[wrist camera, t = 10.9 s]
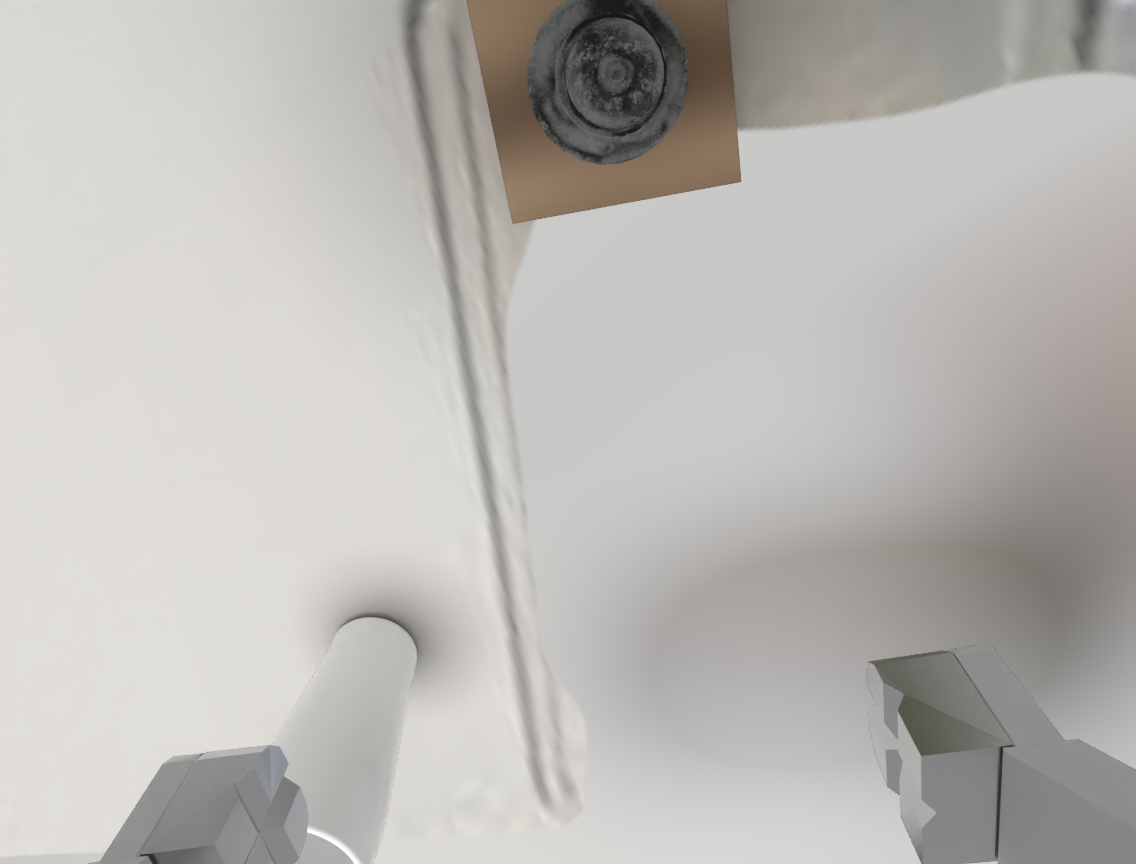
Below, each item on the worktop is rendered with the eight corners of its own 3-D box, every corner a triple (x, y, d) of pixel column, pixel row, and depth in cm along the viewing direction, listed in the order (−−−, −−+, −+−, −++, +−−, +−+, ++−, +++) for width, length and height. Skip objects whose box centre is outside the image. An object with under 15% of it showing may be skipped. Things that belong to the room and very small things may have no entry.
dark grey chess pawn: (572, 182, 32) (567, 228, 21) (506, 45, 30) (463, 15, 19) (699, 116, 31) (764, 127, 20) (640, -33, 29) (676, -111, 18)
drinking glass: (450, 633, 46) (393, 861, 32) (401, 704, 48) (329, 944, 35) (349, 584, 45) (246, 801, 31) (304, 660, 47) (190, 892, 33)
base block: (469, -27, 32) (458, -39, 29) (706, -78, 31) (718, -95, 28) (518, 214, 36) (512, 223, 33) (728, 174, 35) (741, 181, 32)
